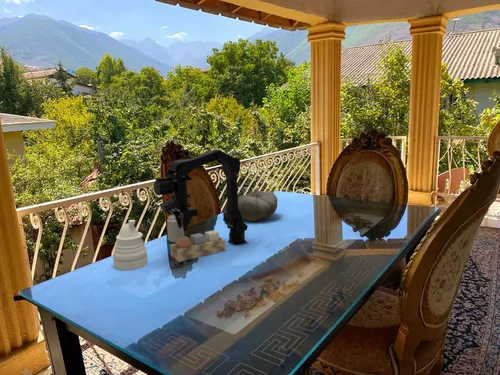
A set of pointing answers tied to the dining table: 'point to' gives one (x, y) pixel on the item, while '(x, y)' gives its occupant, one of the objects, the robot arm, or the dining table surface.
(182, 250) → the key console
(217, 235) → the ivory key
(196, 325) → the dining table surface
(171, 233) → the can
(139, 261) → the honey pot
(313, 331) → the dining table surface
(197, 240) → the slate key
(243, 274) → the dining table surface
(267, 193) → the gourd
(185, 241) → the salmon rounded block
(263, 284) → the dining table surface
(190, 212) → the robot arm
